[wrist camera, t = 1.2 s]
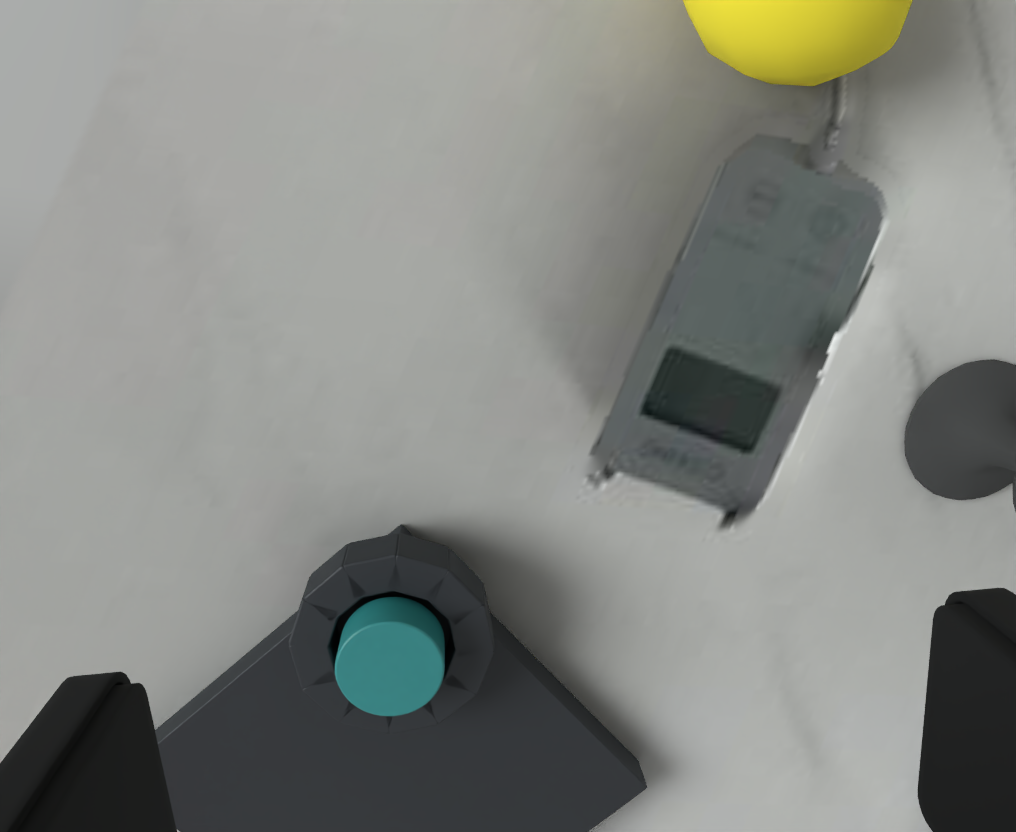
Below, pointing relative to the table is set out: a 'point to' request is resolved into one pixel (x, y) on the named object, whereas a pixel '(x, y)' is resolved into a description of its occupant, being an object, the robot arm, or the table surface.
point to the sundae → (965, 432)
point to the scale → (392, 723)
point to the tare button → (391, 657)
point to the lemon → (797, 35)
